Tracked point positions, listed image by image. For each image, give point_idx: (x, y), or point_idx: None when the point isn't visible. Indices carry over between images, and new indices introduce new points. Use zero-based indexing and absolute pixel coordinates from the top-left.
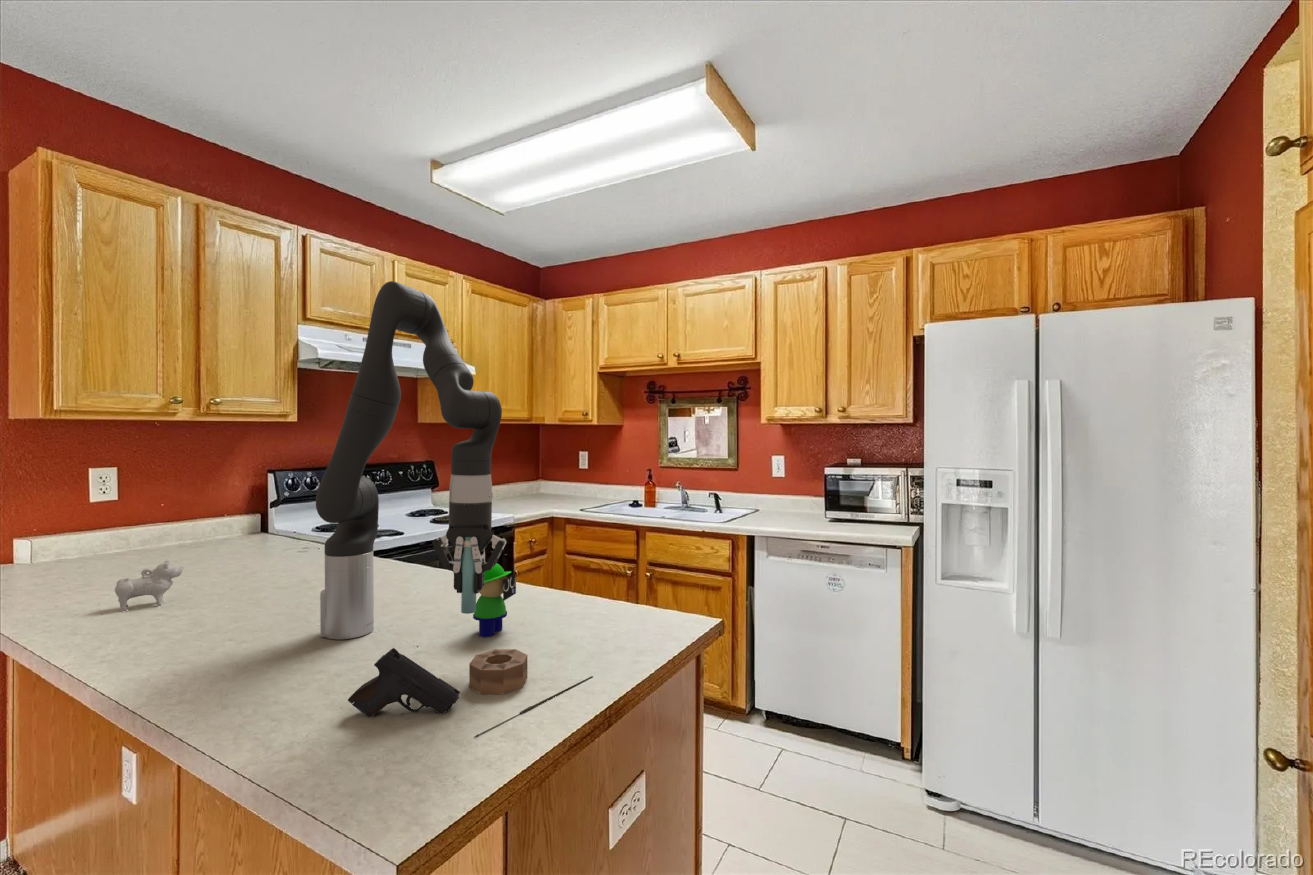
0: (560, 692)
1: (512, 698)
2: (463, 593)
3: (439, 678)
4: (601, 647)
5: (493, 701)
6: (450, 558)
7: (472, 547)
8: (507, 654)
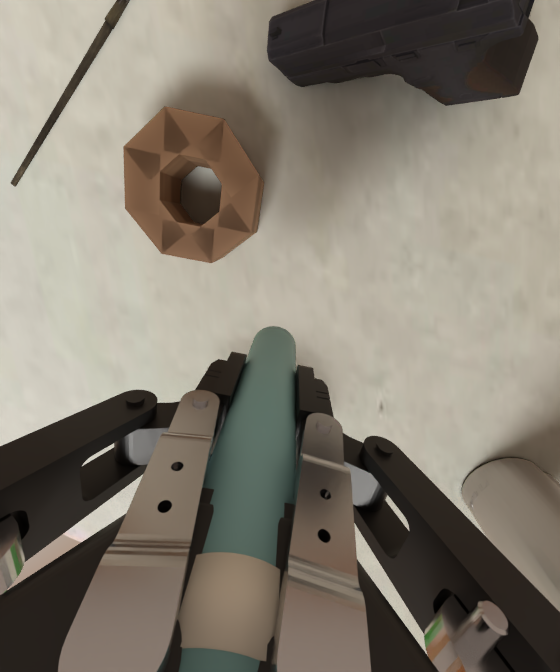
0: (60, 101)
1: (163, 98)
2: (286, 359)
3: (321, 32)
4: (31, 335)
5: (202, 90)
6: (370, 523)
7: (185, 534)
8: (175, 221)
